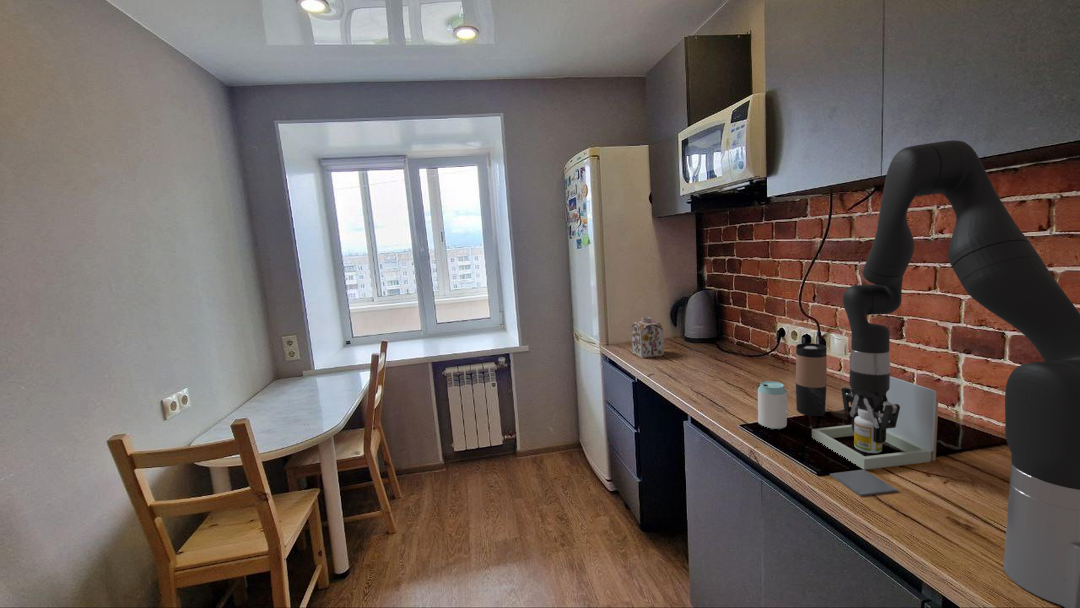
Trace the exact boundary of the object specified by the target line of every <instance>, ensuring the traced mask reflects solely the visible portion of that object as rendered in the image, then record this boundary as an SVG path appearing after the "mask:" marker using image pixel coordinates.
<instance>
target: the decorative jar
mask: <svg viewBox="0 0 1080 608" xmlns="http://www.w3.org/2000/svg"><path fill="white" fill-rule="evenodd" d="M630 327H631V329H630V331H631V333H630V334H631V350H632V351H631V352H632V354H633V355H635V354H636V356H637V357H638V358H641V359H647V357H648V358H654V357H655V356H656V357H663V356H662V355H664V356H665V341H664V340H665V339H664V328H663V326H662V324H661V323H660V321H657V320H654V319H652V317H649V316H644V317H643V316H642V317H641V318H640V320H637V321H635V322H633V324H632V325H631V326H630Z"/></svg>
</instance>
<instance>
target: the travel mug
mask: <svg viewBox="0 0 1080 608" xmlns="http://www.w3.org/2000/svg"><path fill="white" fill-rule="evenodd" d="M795 346H796V347H795V397H796V398H795V399H796V400H795V403H796V411H797V412H798V413H800V414H801V415H805V416H808V417H809V416H810V417H820V416H824V415H825V414H826V405H827V403H826V400H827V382H828V381H827V379H828V378H827V376H828V375H827V366H828V365H827V356H828V355H827V352H828V351H827V350H828V349H827V346H826V345H824V344H820V343H810V342H808V343H807V342H806V343H805V342H804V343H798V344H796V345H795Z"/></svg>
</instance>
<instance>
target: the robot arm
mask: <svg viewBox="0 0 1080 608" xmlns="http://www.w3.org/2000/svg"><path fill="white" fill-rule="evenodd" d="M889 163H890V164H889V166H888V168H887V171H886V172H887V173H886V175H885V180H884V186H883V191H882V197H881V202H880V209H879V215H878V222H877V227H876V233H875V235H874V241H873V243H872V246H871V249H870V251H869V253H868V256H867V259H866V261H865V264H864V266H863V270H862V275H863V278H864V279H865V280H866V281H867V282H869V283H870V284H856V285H850V286H849V287H848V288H846V290H845V291H844V293H843V295H842V304H843V308H844V310H845V313H846V316H847V319H848V323H849V326H850V327H849V328H850V332H851V343H850V345H851V346H850V348H851V349H850V356H849V386H848V387H842V388H841V389H840V390H841V395H842V404H843V410H844V412H846V413H849V416H850V417H851V425H852V430H853V431H854V419H855V417H857V416H859V415H858V409H859V408H861V409H865V410H866V411H868V414H869V417H870V418H872V420H873V423H874V426H875V427H874V439H873V441H874V442H876V443H882V444H884V443H886V442H885V441H886V429H887V428H895V427H896V423H897V418H898V414H899V410H900V406H899V405H898V404H892V403H890V402H888V399H887V397H886V393H887V391H888V390H889V389H890V376H891V356H890V342H891V341H890V339H891V338H890V336H891V334H890V329H889V328H888V327H887V326H885V325H882V324H877V323H871V322H869V321H868V319H867V316H870V315H871V316H873V315H874V316H876V315H879V316H880V315H889V314H892V313H894V312H896V311H897V310H898V309H899V308H900V306H901V305H902V299H903V296H902V290H903V279H904V275H905V273H906V272H907V269H908V267H909V264H910V262H911V260H912V257H913V256H914V255H913V254H914V253H915V252H914V251H915V239H914V237H913V233H912V231H911V229H910V227H909V226H910V225H909V223H908V219H907V214H908V210H909V208H910V206H911V204H912V202H913V201H914V199H915V197H916V198H917V197H922V196H930V195H939V194H941V195H943V196H944V197H945V198H946V200H948V202H949V203H950V206H951V207H952V210H953V211H954V213H955V219H956V220H955V225H954V229H953V232H952V235H951V238H950V241H949V247H948V253H947V255H948V256H947V257H948V260H949V261H948V262H949V263H950V266H951V267H952V270H953V271H954V273H955V275H956V277H957V279H958V280H959V282H960V284H961V286H962V287H963V289H964V291H965V292H966V293H967V294H968V295H969V296H970V297H971V298H972V299H973V300H975V302H977V303H978V304H979V305H981V306H982V307H984V308H985V309H986V310H988V311H989V312H991V313H992V314H994V315H996V317H998V318H1000V319H1001V320H1003V321H1005V322H1006V323H1008V324H1009V325H1011V326H1012V327H1013V328H1014V329H1016V330H1017V331H1019V332H1020V333H1021V334H1022V335H1024V336H1025V337H1026V338H1027V339H1028V340H1029V342H1031V344H1032V345H1033V346H1034V347H1035V349H1036V350H1037V352H1038V353H1039V354H1040V355H1041V358H1042V359H1043V360H1044V361H1035V362H1034V361H1033V362H1027V363H1022V364H1020V365H1019V366H1017V367H1015V369H1013V370H1012V371H1011V373H1010V374H1009V376H1008V378H1007V381H1006V383H1005V384H1006V385H1005V389H1004V390H1005V391H1004V415H1005V416H1004V417H1005V418H1004V419H1005V420H1004V423H1005V424H1004V425H1005V426H1004V427H1005V428H1004V431H1005V432H1004V434H1005V439H1006V443H1007V446H1008V448H1009V451H1010V453H1011V455H1010V456H1011V458H1010V459H1011V460H1010V462H1011V463H1010V475H1009V485H1008V486H1009V490H1008V498H1007V499H1008V500H1007V501H1008V502H1007V513H1006V526H1005V527H1006V530H1005V541H1004V554H1003V555H1004V557H1003V569H1004V570H1003V571H1004V572H1005V574H1006V575H1007V577H1008V578H1009V579H1010V580H1011V581H1013V582H1014V583H1015V584H1016V585H1017V586H1019V587H1021V588H1023V589H1024V590H1025V591H1026V592H1029V593H1031V594H1033V595H1034V596H1037V597H1039V598H1041V599H1044V600H1046V601H1048V602H1051V603H1054V604H1056V605H1059V606H1062V607H1064V608H1080V312H1079V310H1078V309H1077V307H1076V306H1075V304H1074V303H1073V302H1072V300H1071V299H1070V298H1069V297H1068V295H1067V294H1066V292H1065V291H1064V290H1063V289H1062V287H1061V286H1060V284H1059V283H1058V282H1057V281H1056V279H1055V278H1054V277H1053V275H1052V274H1051V272H1050V270H1049V268H1047V265H1046V264H1045V262H1044V261H1043V259H1042V257H1041V256H1040V255H1039V253H1038V252H1037V251H1036V249H1035V248H1034V246H1033V245H1032V243H1031V242H1030V241H1029V239H1028V238H1027V236H1026V235H1025V234H1024V233H1023V231H1022V230H1021V229H1020V228H1019V226H1018V225H1017V223H1016V222H1015V220H1014V219H1013V217H1012V216H1011V214H1010V212H1009V211H1008V210H1007V208H1006V206H1005V204H1004V203H1003V201H1002V200H1001V199H1000V198H1001V197H1000V196H999V194H998V193H997V191H996V189H995V187H994V186H993V184H992V181H991V179H990V177H989V175H988V172H987V171H986V169H985V167H984V164H983V163H982V161H981V159H980V158H979V155H978V154H977V152H976V151H975V149H974V148H973V147H972V146H971V145H970V144H968V143H967V142H964V141H962V140H955V139H954V140H945V141H935V142H929V143H924V144H923V143H922V144H916V145H910V146H907V147H904V148H902V149H900V150H899V151H898V152H897V153H896V154H895V155H894V156H893V158H892V160H891V161H890V162H889ZM849 403H850V404H849ZM879 411H880V413H879V414H875V413H874V412H879ZM879 417H880V420H881V422H880V423H879V420H878V418H879ZM889 420H890V422H889Z"/></svg>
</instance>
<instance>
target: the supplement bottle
mask: <svg viewBox="0 0 1080 608" xmlns="http://www.w3.org/2000/svg"><path fill="white" fill-rule="evenodd" d="M874 413H875V414H879V412H874ZM858 415H859V416H857V417H855V419H854V436H853V438H854V439H853V444H854V445H853V446H854V448H855V449H856V450H858V451H860V452H863V453H867V454H880V453H881V452H882V451H883V443H876V442H874V441H873V439H874V427H875V426H874V423H873V420H872V418H870V417H869V414H868V411H866V410H865V409H861V408H859V409H858ZM878 420H879V423H880V422H881V420H880V419H878Z"/></svg>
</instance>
